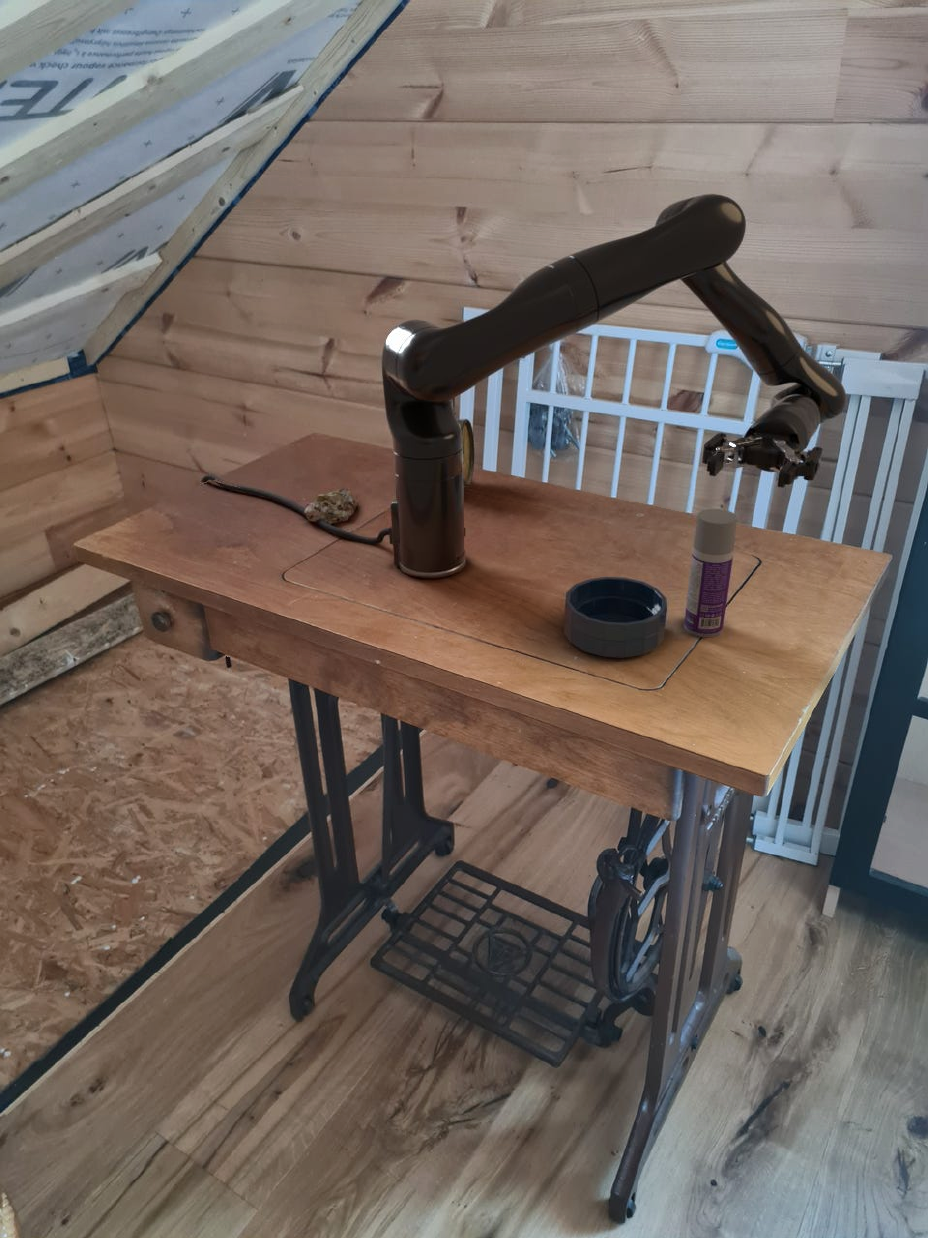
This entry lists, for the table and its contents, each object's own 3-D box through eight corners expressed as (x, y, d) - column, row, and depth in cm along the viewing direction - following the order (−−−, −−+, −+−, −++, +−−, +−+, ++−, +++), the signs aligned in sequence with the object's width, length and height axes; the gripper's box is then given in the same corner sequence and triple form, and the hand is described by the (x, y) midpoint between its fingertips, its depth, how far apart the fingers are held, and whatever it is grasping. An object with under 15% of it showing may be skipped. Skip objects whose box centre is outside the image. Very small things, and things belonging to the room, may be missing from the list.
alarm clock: (463, 502, 150) (461, 405, 142) (431, 500, 151) (427, 403, 143) (476, 478, 159) (475, 385, 151) (446, 476, 160) (443, 384, 152)
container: (727, 624, 114) (743, 513, 107) (715, 641, 111) (730, 527, 103) (691, 615, 116) (704, 505, 109) (678, 631, 113) (690, 518, 105)
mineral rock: (338, 516, 140) (294, 495, 142) (333, 540, 142) (290, 519, 144) (373, 494, 149) (331, 474, 151) (368, 517, 151) (327, 497, 153)
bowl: (547, 645, 111) (548, 609, 108) (588, 603, 120) (590, 569, 117) (641, 671, 105) (645, 634, 103) (677, 625, 114) (680, 590, 112)
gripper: (731, 402, 127) (693, 436, 115) (838, 416, 121) (810, 454, 109) (725, 454, 131) (687, 492, 119) (829, 470, 124) (800, 512, 112)
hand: (746, 474), depth 114 cm, fingers open, 8 cm apart
